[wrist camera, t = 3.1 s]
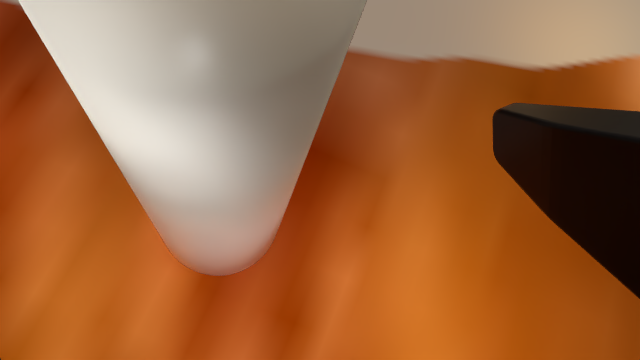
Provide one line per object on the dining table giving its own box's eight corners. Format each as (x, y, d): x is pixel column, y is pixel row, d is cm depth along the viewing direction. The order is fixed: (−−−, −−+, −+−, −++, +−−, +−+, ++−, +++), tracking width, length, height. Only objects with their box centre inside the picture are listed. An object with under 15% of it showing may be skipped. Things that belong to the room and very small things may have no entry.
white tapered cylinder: (217, 301, 19) (184, 175, 5) (133, 215, 19) (-90, -100, 6) (302, 217, 20) (448, -54, 7) (222, 138, 20) (206, -268, 7)
